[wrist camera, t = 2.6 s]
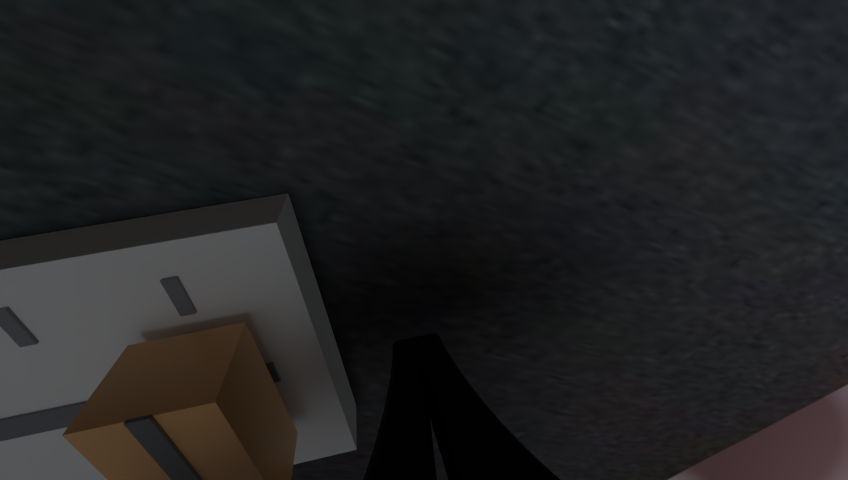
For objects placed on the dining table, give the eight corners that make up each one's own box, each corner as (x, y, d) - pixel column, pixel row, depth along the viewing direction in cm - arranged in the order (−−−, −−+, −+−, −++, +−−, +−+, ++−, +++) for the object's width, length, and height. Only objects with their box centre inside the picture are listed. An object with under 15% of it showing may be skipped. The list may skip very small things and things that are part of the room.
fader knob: (298, 432, 12) (286, 521, 10) (206, 454, 12) (173, 549, 10) (244, 320, 10) (212, 405, 8) (126, 344, 9) (57, 438, 7)
